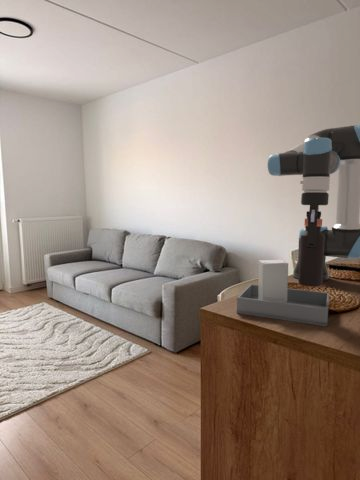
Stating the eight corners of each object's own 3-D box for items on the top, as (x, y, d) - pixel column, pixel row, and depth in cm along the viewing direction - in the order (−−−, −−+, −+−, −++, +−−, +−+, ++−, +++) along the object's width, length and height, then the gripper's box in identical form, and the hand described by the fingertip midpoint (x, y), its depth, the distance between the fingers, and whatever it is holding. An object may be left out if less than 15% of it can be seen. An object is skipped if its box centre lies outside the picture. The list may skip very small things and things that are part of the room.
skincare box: (281, 302, 112) (283, 259, 110) (287, 308, 106) (289, 262, 104) (256, 302, 112) (258, 259, 110) (261, 308, 106) (263, 262, 104)
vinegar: (325, 287, 99) (329, 219, 96) (302, 286, 99) (305, 219, 97) (317, 281, 106) (320, 218, 103) (295, 281, 106) (298, 218, 103)
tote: (249, 297, 121) (250, 284, 120) (328, 307, 110) (329, 292, 110) (236, 312, 105) (237, 297, 104) (327, 326, 94) (328, 309, 93)
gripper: (303, 192, 108) (300, 263, 111) (299, 191, 94) (295, 273, 97) (329, 192, 105) (324, 265, 108) (328, 191, 91) (323, 275, 94)
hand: (310, 269), depth 103 cm, fingers closed on vinegar, 2 cm apart
